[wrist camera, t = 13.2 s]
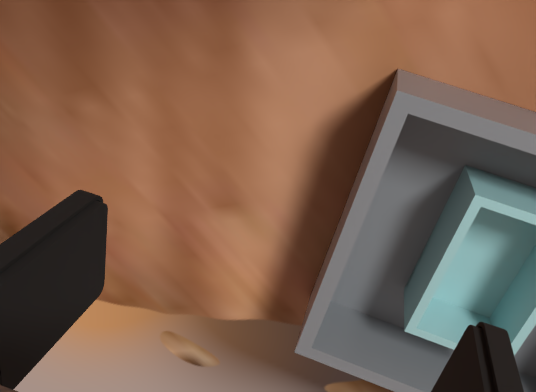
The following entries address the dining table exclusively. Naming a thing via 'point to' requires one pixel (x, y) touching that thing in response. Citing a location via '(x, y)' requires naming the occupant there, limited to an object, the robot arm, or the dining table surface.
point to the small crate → (477, 263)
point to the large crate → (408, 229)
